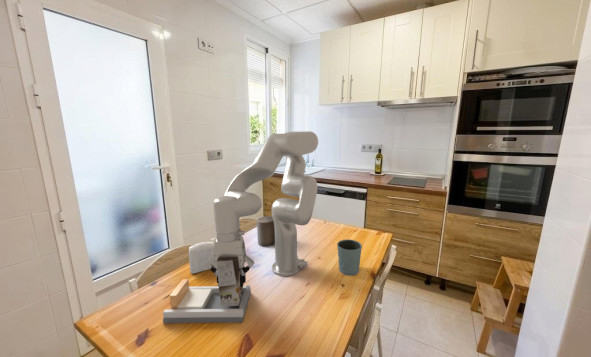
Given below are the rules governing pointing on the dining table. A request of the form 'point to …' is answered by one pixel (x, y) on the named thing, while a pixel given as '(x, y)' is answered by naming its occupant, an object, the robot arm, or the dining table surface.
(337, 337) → the dining table surface
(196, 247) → the photo printer
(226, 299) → the coffee box
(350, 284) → the dining table surface
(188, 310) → the rail board
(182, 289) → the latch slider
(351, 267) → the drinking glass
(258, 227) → the pillar candle
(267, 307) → the dining table surface
